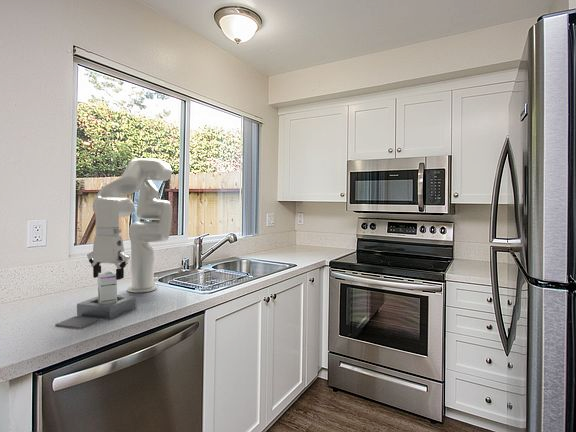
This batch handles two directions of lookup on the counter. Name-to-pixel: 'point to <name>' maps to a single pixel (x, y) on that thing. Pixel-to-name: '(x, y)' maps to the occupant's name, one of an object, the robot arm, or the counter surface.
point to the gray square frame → (106, 308)
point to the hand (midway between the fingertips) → (108, 277)
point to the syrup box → (107, 287)
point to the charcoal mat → (77, 322)
